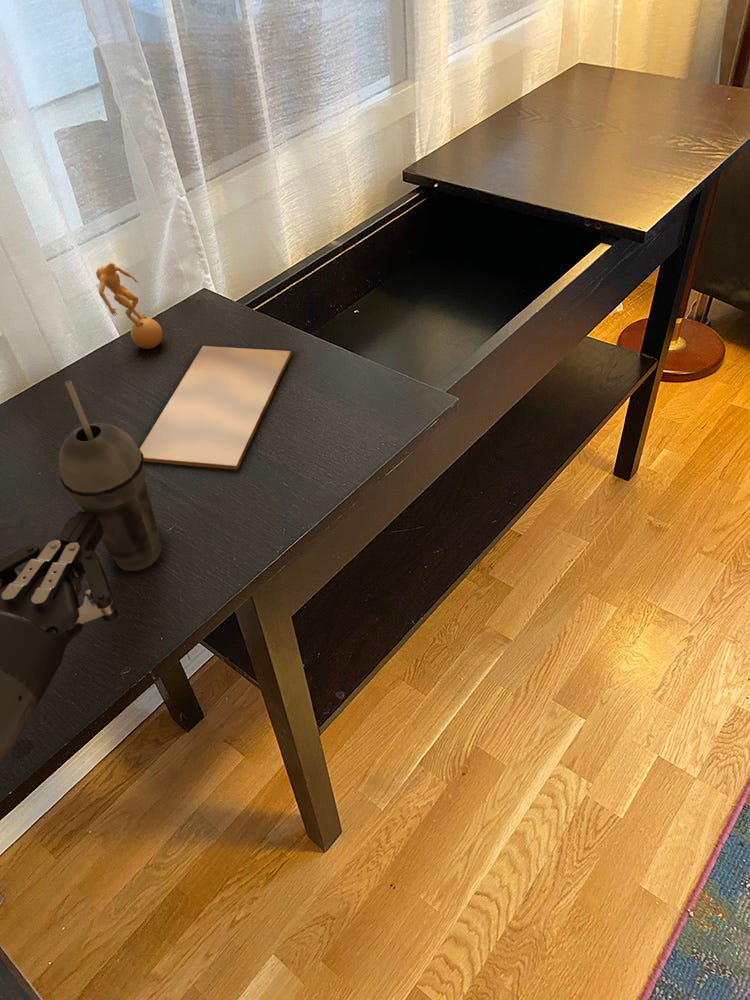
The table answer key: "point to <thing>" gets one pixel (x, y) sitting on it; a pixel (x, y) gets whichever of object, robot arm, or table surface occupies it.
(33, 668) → the robot arm
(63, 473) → the beverage cup
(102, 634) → the table surface
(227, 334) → the table surface
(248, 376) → the tan rectangular board
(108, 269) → the figurine
